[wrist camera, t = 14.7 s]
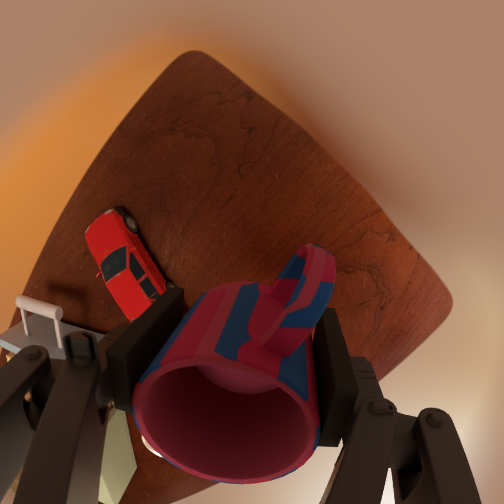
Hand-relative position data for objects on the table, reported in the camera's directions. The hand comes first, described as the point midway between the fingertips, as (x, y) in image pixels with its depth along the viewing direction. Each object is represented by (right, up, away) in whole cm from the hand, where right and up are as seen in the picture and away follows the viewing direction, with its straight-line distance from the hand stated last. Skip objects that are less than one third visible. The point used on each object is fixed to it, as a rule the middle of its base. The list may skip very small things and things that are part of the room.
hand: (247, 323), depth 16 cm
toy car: (-12, +2, +19) cm, 22 cm away
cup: (+1, 0, 0) cm, 1 cm away
